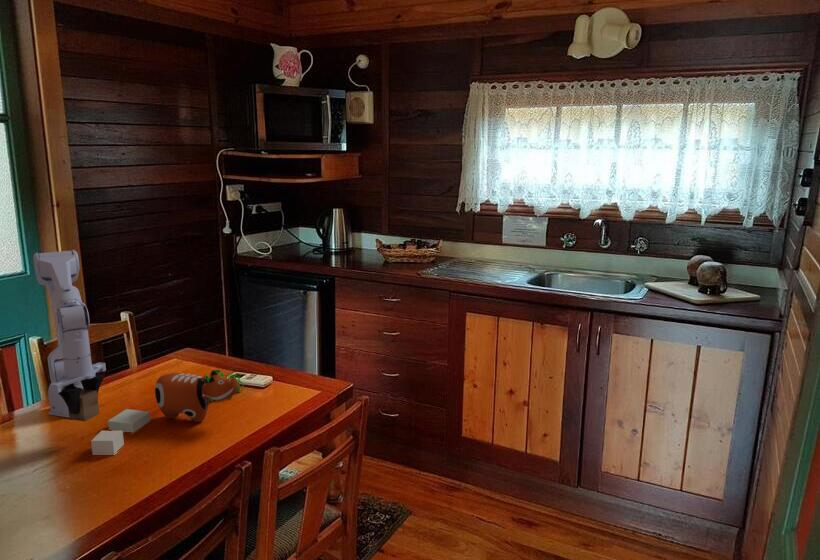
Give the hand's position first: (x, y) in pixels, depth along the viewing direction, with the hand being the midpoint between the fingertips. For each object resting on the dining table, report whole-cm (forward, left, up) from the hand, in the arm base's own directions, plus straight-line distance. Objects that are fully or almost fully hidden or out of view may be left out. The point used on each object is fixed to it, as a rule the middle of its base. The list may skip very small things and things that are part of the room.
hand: (83, 408), depth 140 cm
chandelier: (+14, +35, -9) cm, 39 cm away
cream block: (+8, -2, -9) cm, 12 cm away
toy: (+20, +17, -9) cm, 28 cm away
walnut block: (0, 0, -2) cm, 2 cm away
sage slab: (+4, +10, -9) cm, 14 cm away
